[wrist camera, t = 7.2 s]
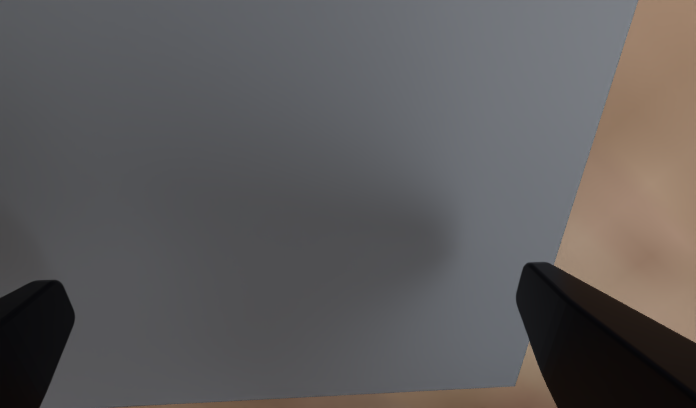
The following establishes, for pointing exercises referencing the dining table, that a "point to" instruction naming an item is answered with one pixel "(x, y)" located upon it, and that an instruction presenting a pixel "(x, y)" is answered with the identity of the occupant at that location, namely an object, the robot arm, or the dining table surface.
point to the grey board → (292, 186)
